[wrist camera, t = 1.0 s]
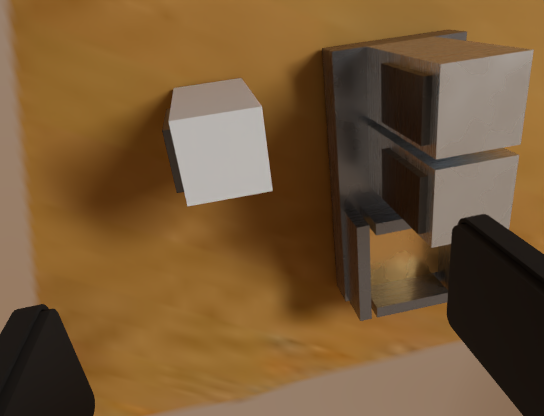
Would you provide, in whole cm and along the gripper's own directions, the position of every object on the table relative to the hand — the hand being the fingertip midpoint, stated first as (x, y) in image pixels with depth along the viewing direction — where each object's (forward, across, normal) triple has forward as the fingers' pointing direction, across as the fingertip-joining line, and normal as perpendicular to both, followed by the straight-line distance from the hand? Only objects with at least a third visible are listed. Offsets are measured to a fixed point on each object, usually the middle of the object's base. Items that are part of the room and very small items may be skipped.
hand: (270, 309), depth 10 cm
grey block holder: (+18, -11, +5) cm, 22 cm away
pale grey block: (+18, 0, 0) cm, 18 cm away
